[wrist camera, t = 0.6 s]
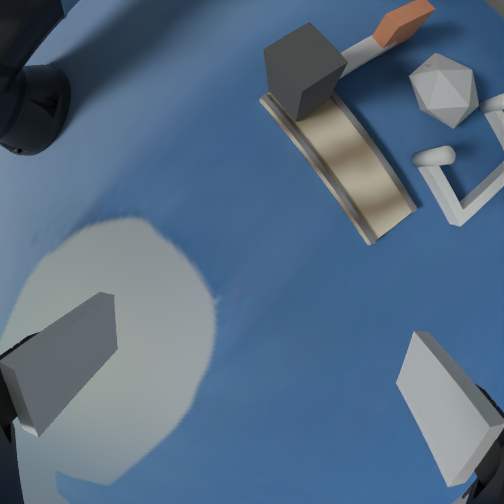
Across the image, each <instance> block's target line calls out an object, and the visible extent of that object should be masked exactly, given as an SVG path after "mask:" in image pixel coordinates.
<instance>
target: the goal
mask: <svg viewBox="0 0 504 504" xmlns="http://www.w3.org/2000/svg"><path fill="white" fill-rule="evenodd" d="M479 108H480V110H481V112H482V113H483V114H484V115H485V117H486V118H487V120H488V122H489V124H490V125H491V127H492V129H493V131H494V133H495V134H496V136H497V138H498V140H499V142H500V144H501V146H502V148H503V150H504V112H503V109H504V93H503V94H500V95H498V96H495V97H493V98H490V99H487V100H485V101H482V102H480V104H479ZM455 157H456V156H455V152H454V150H453V148H452V147H450V146H442V147H438V148H434V149H430V150H426V151H422V152H418V153H415V154H414V155H413V156H412V162H413V164H414V166H415V167H417V168H418V169H419V171H420V173H421V174H422V176H423V177H424V179H425V181H426V182H427V184H428V186H429V187H430V189H431V191H432V193H433V194H434V196H435V198H436V200H437V201H438V203H439V205H440V207H441V209H442V211H443V212H444V214H445V216H446V218H447V220H448V222H449V224H452V225H456V226H460V227H461V226H462V225H463V224H464V223H465V222H466V221H467V220H468V219H469V218H471V217H472V216H473V215H474V214H475V213H476V212H477V211H478V210H479V209H480V208H481V207H482V206H483V205H484V204H486V203H487V202H488V201H489V200H490V199H491V198H492V197H493V196H494V195H495V194H496V193H497V192H498V191H499V190H500V189H501V188H502V187H503V186H504V161H503V162H502V163H501V164H500V165H499V166H498V167H497V168H496V169H495V170H494V171H493V172H492V173H491V174H489V175H488V176H487V177H486V178H485V179H484V180H483V181H482V182H481V183H480V184H479V185H478V186H477V187H475V188H474V189H473V190H472V191H471V192H470V193H469V194H468V195H467V196H466V197H464V198H463V199H462V200H461V201H460V202H459V201H458V199H457V197H456V195H455V193H454V191H453V190H452V188H451V186H450V184H449V182H448V181H447V179H446V177H445V175H444V174H443V172H442V170H441V168H440V167H439V165H447V164H452V163H453V162H454V161H455Z"/></svg>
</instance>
